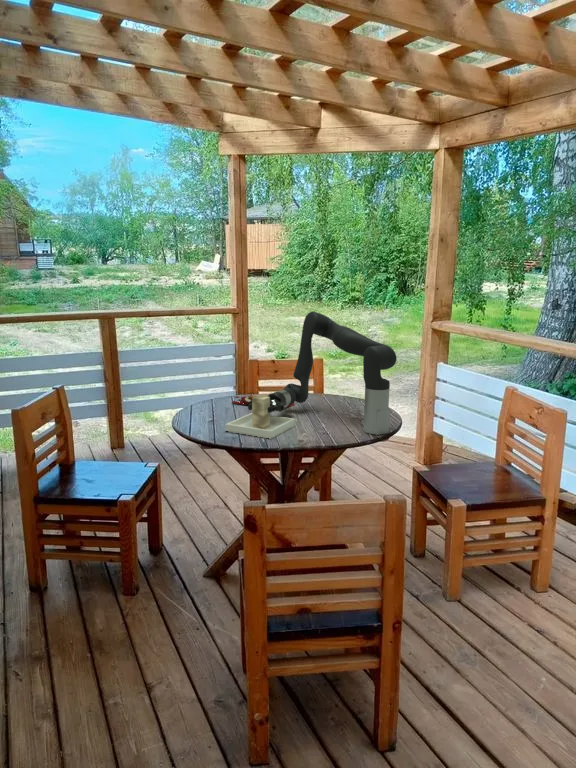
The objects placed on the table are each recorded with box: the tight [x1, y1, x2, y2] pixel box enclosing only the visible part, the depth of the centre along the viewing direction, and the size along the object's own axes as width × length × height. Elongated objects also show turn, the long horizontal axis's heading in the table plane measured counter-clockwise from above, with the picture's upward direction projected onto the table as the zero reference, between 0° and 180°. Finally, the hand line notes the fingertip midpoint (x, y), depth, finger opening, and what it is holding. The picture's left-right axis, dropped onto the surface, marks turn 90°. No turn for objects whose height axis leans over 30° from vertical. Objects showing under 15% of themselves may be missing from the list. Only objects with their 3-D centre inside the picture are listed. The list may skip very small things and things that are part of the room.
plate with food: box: [231, 393, 295, 409], centre depth 259 cm, size 25×26×4 cm
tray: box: [224, 412, 296, 440], centre depth 215 cm, size 20×20×3 cm
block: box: [251, 396, 271, 429], centre depth 213 cm, size 5×5×12 cm
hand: (258, 408), depth 212 cm, fingers open, 8 cm apart
